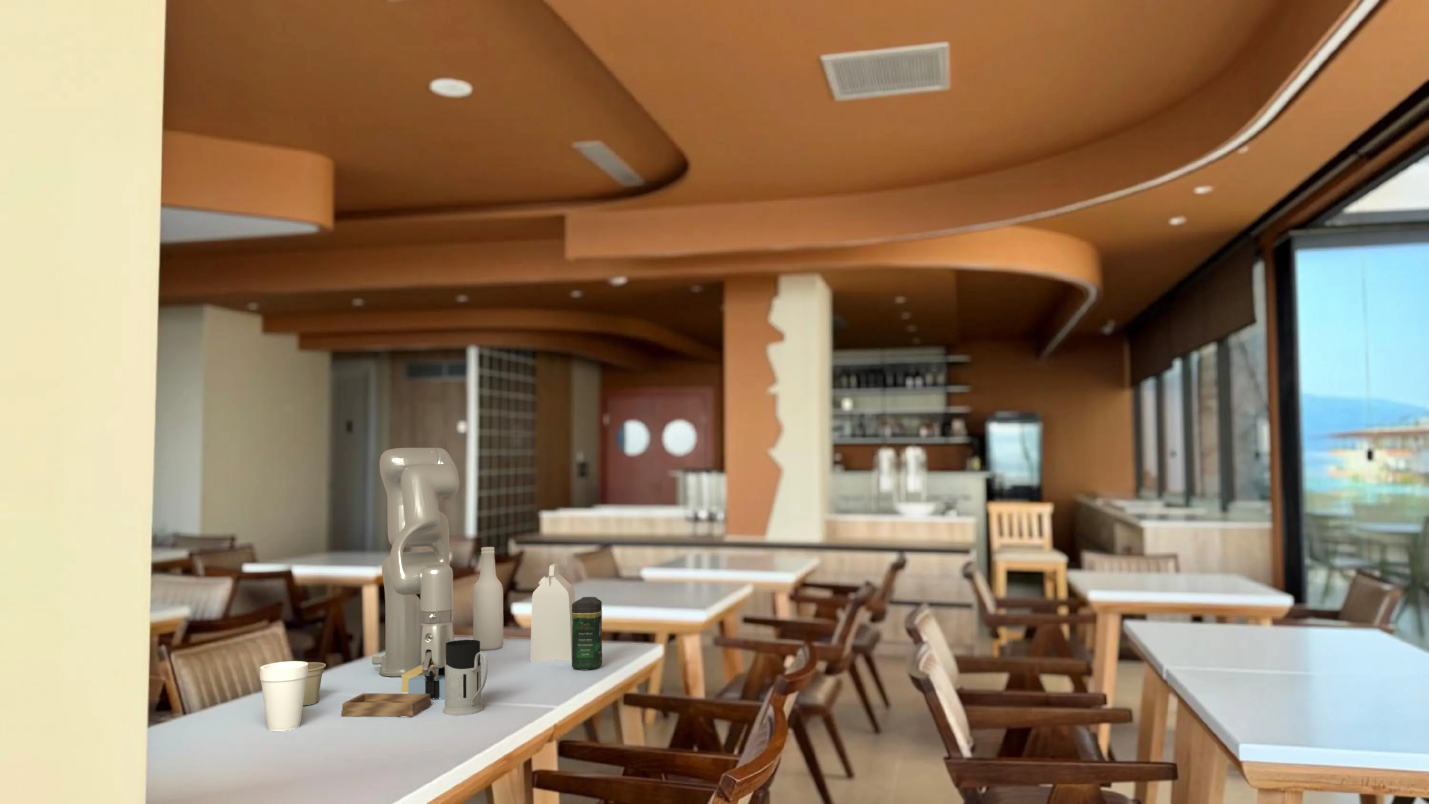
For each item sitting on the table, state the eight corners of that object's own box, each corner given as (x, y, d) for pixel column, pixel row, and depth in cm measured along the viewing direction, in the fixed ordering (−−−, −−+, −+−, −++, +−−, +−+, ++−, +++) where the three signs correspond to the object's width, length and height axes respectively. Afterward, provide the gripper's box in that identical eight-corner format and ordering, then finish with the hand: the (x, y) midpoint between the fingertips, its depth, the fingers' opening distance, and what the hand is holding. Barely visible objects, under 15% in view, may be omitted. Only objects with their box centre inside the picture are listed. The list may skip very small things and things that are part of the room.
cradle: (341, 716, 222) (341, 703, 222) (363, 704, 232) (363, 692, 232) (412, 717, 220) (412, 704, 220) (431, 705, 230) (431, 693, 230)
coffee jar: (599, 670, 266) (598, 599, 267) (569, 670, 266) (568, 600, 267) (605, 663, 275) (604, 594, 277) (576, 663, 276) (575, 595, 277)
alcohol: (468, 650, 298) (468, 548, 300) (480, 645, 307) (479, 546, 309) (496, 650, 297) (496, 548, 298) (507, 645, 305) (507, 546, 307)
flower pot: (334, 700, 237) (334, 663, 237) (302, 710, 228) (303, 671, 229) (305, 697, 241) (305, 660, 241) (272, 706, 232) (273, 668, 233)
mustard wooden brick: (401, 693, 244) (401, 674, 245) (421, 682, 256) (421, 664, 257) (417, 693, 244) (417, 674, 244) (436, 682, 256) (436, 664, 256)
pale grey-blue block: (408, 699, 237) (408, 679, 238) (416, 694, 242) (416, 675, 243) (457, 699, 236) (457, 679, 236) (465, 694, 241) (464, 675, 241)
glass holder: (470, 703, 231) (469, 637, 232) (504, 713, 221) (503, 644, 222) (435, 710, 225) (435, 642, 226) (469, 721, 215) (468, 650, 216)
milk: (571, 660, 280) (570, 566, 282) (530, 661, 280) (529, 567, 282) (577, 652, 292) (577, 562, 294) (538, 653, 292) (537, 562, 294)
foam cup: (317, 723, 216) (317, 662, 217) (286, 735, 207) (286, 671, 208) (281, 720, 219) (282, 660, 220) (249, 731, 210) (249, 668, 211)
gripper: (438, 623, 231) (438, 703, 230) (464, 612, 248) (465, 687, 247) (406, 623, 232) (406, 703, 231) (435, 612, 249) (435, 687, 248)
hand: (437, 694), depth 239 cm, fingers closed on pale grey-blue block, 5 cm apart
